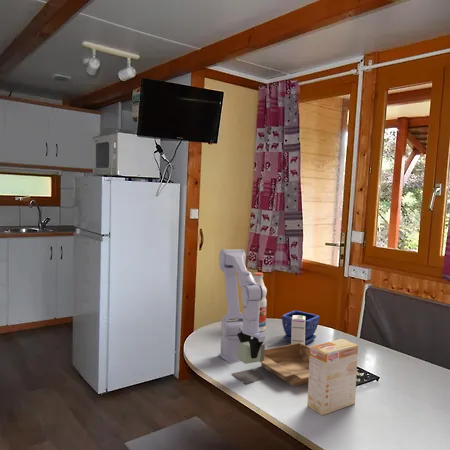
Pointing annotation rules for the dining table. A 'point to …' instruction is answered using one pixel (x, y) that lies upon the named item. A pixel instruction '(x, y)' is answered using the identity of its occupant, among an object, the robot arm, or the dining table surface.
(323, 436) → the dining table surface
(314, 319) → the flower pot
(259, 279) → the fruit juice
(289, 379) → the wooden tray
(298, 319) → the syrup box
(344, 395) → the coffeecake box
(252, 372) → the mat
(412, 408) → the dining table surface
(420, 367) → the dining table surface
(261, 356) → the capped block
